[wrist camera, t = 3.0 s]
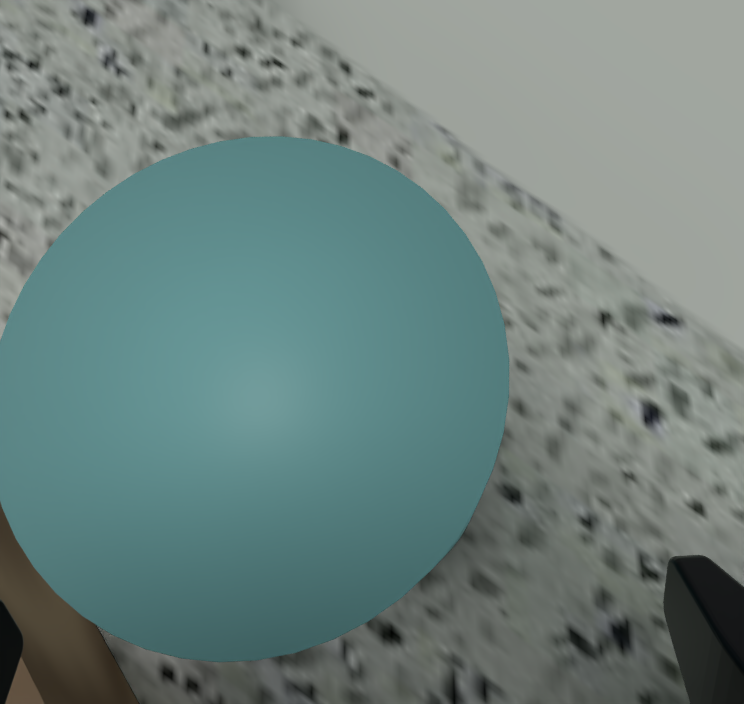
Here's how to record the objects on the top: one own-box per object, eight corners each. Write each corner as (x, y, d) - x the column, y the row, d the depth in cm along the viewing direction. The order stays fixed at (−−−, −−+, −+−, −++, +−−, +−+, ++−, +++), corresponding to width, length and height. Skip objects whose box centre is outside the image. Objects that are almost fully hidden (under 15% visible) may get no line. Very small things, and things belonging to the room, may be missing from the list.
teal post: (513, 499, 18) (633, 407, 5) (371, 615, 17) (153, 799, 5) (402, 364, 19) (297, 52, 7) (268, 468, 19) (-92, 337, 7)
